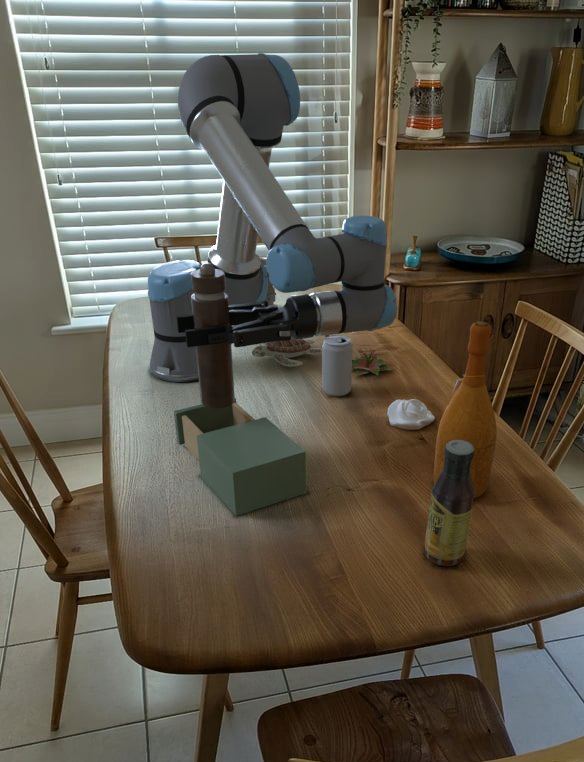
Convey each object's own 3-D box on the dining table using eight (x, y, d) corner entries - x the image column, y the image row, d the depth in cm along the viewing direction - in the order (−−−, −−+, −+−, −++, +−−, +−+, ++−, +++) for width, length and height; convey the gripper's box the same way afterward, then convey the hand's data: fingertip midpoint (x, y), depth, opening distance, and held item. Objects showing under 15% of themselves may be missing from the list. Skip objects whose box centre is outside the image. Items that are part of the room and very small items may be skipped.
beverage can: (348, 399, 157) (349, 346, 150) (319, 396, 158) (319, 343, 151) (353, 387, 162) (355, 335, 155) (325, 384, 163) (325, 332, 156)
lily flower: (401, 374, 168) (403, 356, 165) (353, 382, 164) (354, 363, 162) (380, 355, 177) (381, 337, 175) (334, 361, 173) (334, 343, 171)
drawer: (174, 439, 139) (171, 408, 136) (232, 424, 145) (230, 393, 141) (206, 474, 129) (202, 441, 125) (267, 456, 135) (265, 424, 131)
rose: (388, 388, 151) (434, 390, 151) (386, 408, 154) (433, 409, 154) (388, 410, 143) (437, 412, 143) (387, 430, 146) (435, 432, 145)
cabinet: (200, 476, 130) (196, 435, 126) (267, 457, 136) (265, 416, 132) (235, 516, 120) (232, 473, 116) (305, 493, 126) (305, 451, 122)
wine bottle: (492, 478, 131) (518, 316, 114) (482, 507, 124) (509, 338, 107) (438, 468, 134) (456, 309, 117) (426, 496, 126) (443, 329, 109)
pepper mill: (195, 398, 131) (182, 260, 117) (226, 390, 134) (216, 255, 120) (209, 411, 127) (197, 270, 113) (240, 403, 130) (232, 265, 116)
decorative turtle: (243, 346, 181) (241, 326, 178) (306, 338, 185) (306, 319, 182) (262, 375, 167) (261, 354, 164) (330, 366, 171) (331, 345, 168)
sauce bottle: (420, 544, 115) (431, 433, 103) (459, 543, 115) (475, 432, 104) (428, 571, 109) (441, 457, 98) (468, 569, 110) (486, 455, 99)
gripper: (331, 355, 124) (197, 375, 116) (294, 318, 138) (172, 333, 131) (332, 312, 119) (192, 329, 112) (293, 278, 134) (167, 291, 126)
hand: (182, 331), depth 121 cm, fingers closed on pepper mill, 6 cm apart
